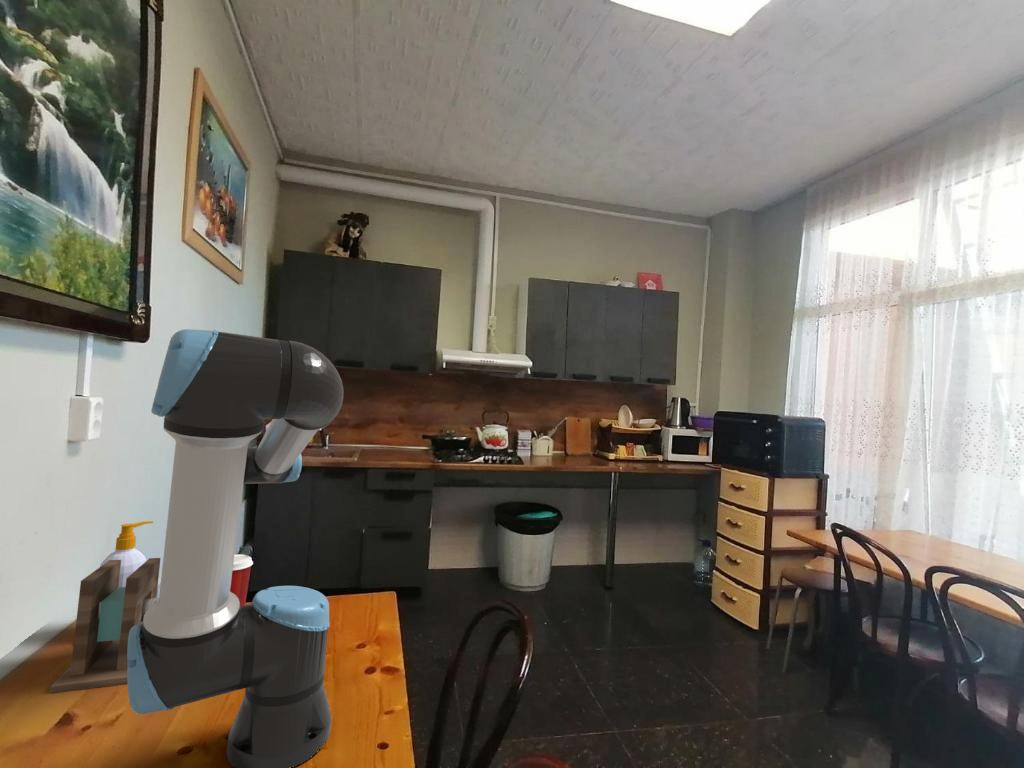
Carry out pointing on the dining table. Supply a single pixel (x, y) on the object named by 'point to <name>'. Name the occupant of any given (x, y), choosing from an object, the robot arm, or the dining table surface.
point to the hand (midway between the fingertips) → (181, 606)
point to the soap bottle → (127, 552)
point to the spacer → (111, 616)
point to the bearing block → (90, 657)
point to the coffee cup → (241, 577)
